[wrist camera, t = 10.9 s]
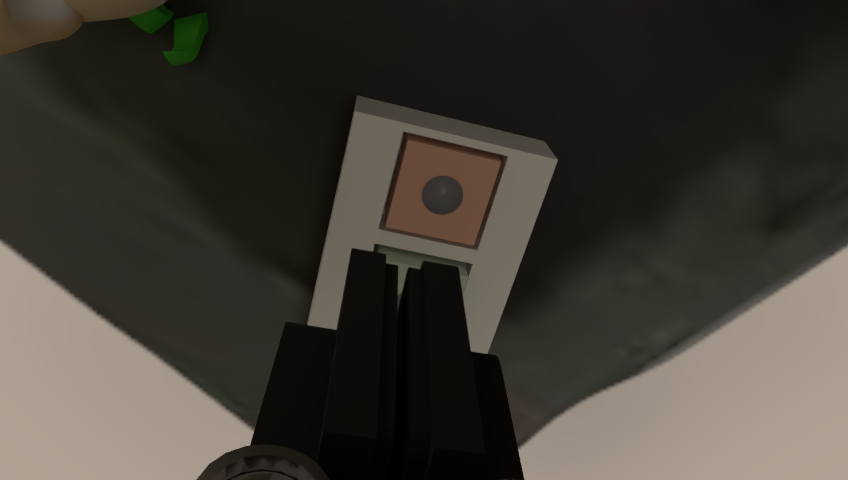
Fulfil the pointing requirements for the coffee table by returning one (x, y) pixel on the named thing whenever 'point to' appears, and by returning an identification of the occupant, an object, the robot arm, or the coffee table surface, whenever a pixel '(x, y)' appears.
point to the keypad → (485, 261)
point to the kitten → (76, 3)
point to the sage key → (416, 263)
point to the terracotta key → (440, 189)
